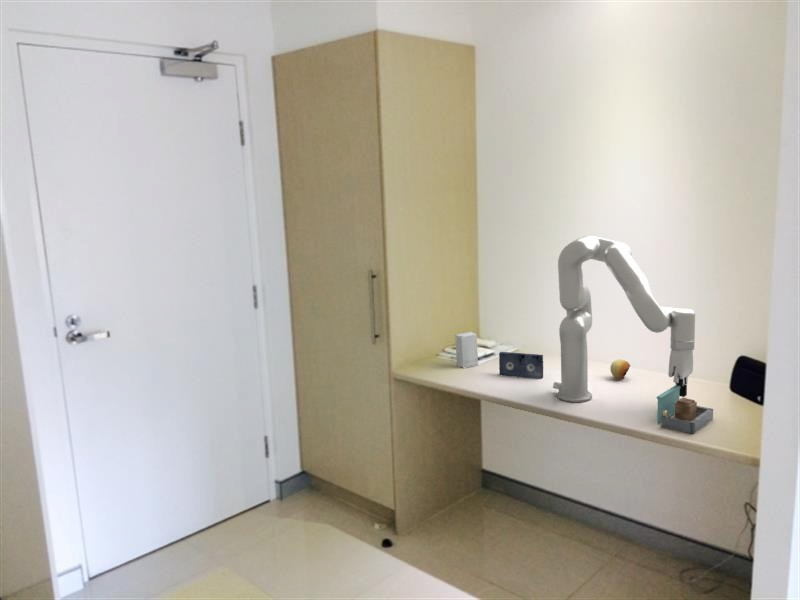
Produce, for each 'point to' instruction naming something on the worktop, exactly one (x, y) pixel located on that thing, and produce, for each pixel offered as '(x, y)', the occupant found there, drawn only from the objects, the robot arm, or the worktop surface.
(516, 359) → the vhs cassette tape
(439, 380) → the worktop surface
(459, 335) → the skincare box
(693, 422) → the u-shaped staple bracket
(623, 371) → the fruit
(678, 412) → the block
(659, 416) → the flat teal rectangular block
